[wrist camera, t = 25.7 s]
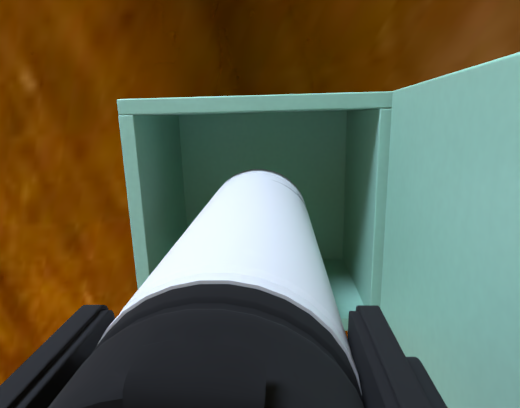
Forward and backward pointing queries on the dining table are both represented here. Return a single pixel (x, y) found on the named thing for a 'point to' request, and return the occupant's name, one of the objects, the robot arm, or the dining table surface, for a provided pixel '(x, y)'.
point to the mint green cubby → (271, 158)
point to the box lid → (457, 232)
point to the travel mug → (228, 316)
